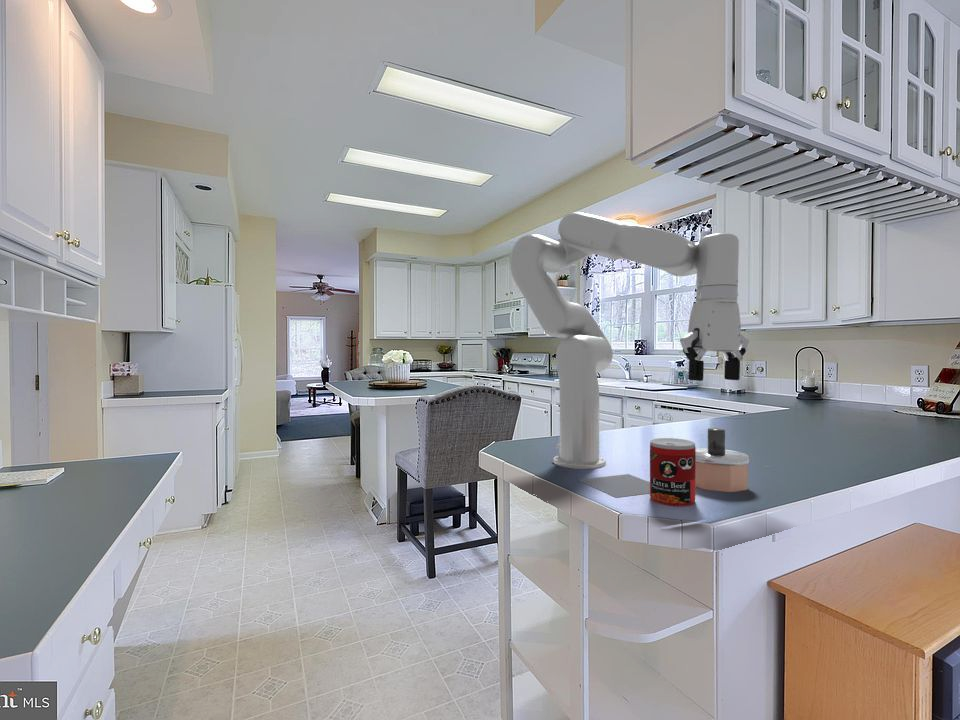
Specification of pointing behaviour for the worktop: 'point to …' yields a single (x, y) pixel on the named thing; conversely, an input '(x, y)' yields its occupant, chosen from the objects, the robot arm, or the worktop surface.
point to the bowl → (721, 477)
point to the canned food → (672, 471)
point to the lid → (719, 451)
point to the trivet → (619, 485)
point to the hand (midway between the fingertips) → (714, 380)
